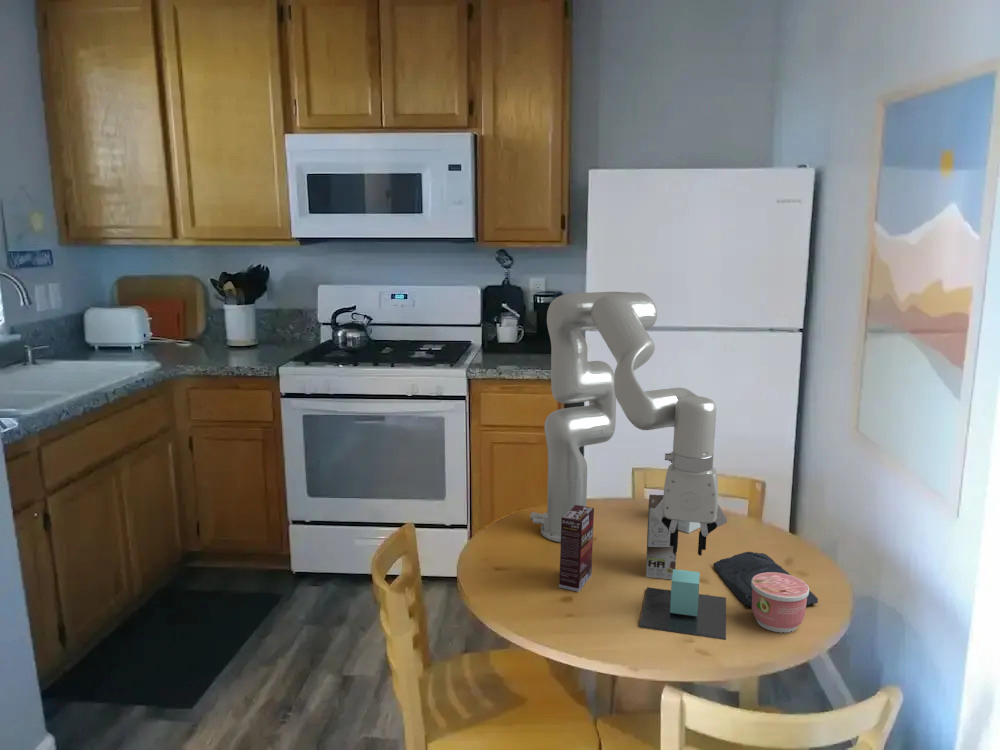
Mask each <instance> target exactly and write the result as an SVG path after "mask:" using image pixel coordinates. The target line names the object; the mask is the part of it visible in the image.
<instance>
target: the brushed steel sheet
mask: <svg viewBox="0 0 1000 750" xmlns="http://www.w3.org/2000/svg"><path fill="white" fill-rule="evenodd" d="M670 603H671V589H663V588H655V587H648V586H647V587H646V591H645V596H644V600H643V604H642V606H643V607H642V610H641V615H640V619H639V624H638V628H643V629H644V628H645V629H650V630H657V631H658V630H659V631H665V632H670V633H671V632H672V633H678V634H684V635H690V636H691V635H693V636H699V637H705V638H713V639H719V640H721V639H722V640H727V597H725V596H718V595H717V596H716V595H710V594H701V593H699V597H698V613H697V616H691V615H683V614H676V613H670Z"/></svg>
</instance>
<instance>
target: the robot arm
mask: <svg viewBox="0 0 1000 750" xmlns="http://www.w3.org/2000/svg"><path fill="white" fill-rule="evenodd" d="M546 312H547V313H546V325H547V330H548V331H547V332H548V335H549V339H550V347H551V352H550V353H551V359H550V361H551V365H550V366H551V367H550V368H551V371H550V372H551V373H550V376H551V377H550V380H551V381H550V384H551V395H552V396H553V398H554V400H555V401H556V402H558V403H561V404H576V403H586V402H588V405H582V406H574V407H566V408H559V409H557V410H554V411H552V412H551V413H550V414H548V415H547V417H546V418H545V421H544V435H545V440H546V447H547V448H546V449H547V504H546V505H547V511H546V512H543V513H539V512H533V511H532V512H531V513H530V521H532V523H533V524H539V525H540V534H541V535H542V536H543V537H544V538H546V540H549V541H553V542H558V543H561V519H562V517H563V516H565V515H566V514H567V513H568V512H569V511H570V510H571V509H572V508H573V507H574V505H580V506H586V507H587V500H588V499H587V495H588V491H587V490H588V463H587V461H586V458H585V457H584V456H583V454H582V453H581V451H580V448H581V447H586V446H592V445H596V444H602V443H606V442H608V441H610V440H611V439H612V438H613V436H614V434H615V431H616V430H615V429H616V418H617V417H616V416H617V415H616V414H617V403H618V405H619V406H620V408H621V410H622V411H623V413H624V416H626V419H627V420H628V421H629V422H630V423H631V424H632V425H633V427H635V428H636V429H639V430H641V431H651V430H652V431H653V430H657V429H664V428H665V429H666V428H673V440H672V442H673V443H672V445H673V446H672V451H671V452H669V453H668V452H667V453H665V454H664V461H668V462H670V463H671V464H669V465H668V467H667V471H666V475H665V479H664V487H663V494H662V495H663V499H662V501H661V502H660V503H659V504H658V505H657V507H656V508H655V509H654V510H653V515H654V516H655V517H656V518H657V519H659V520H661V521H662V523H663V524H664V525H665V526H666V527H667V528H668V529H669V532H670V546H673V552H675V553H676V554H677V552H678V544H679V530H678V528H677V522H678V521H687V522H696V523H700V526H701V527H700V528H699V529H700V530H699V531H698V545H697V555H698V556H700V557H701V556H702V554H703V551H706V548H707V547H706V546H707V537H708V536H709V534H710V533H712V532H714V530H716V529H717V528H718V527H721V526H723V525H725V524H726V523H728V518H727V516H726V514H725V513H724V511H723V509H722V508H721V506H720V505H719V483H718V481H719V480H718V474H717V470H716V468H715V467H714V453H715V438H716V437H715V436H716V422H717V421H716V420H717V419H716V418H717V405H716V403H715V401H714V400H712V399H711V398H709V397H705V396H700V395H697V394H695V393H694V392H693V391H691V390H690V389H688V388H685V387H672V388H662V389H654V390H653V389H652V390H646V391H644V389H643V388H642V387H641V385H640V383H639V381H638V380H637V378H636V376H635V373H634V372H635V371H636V370H637V369H639V368H640V367H642V366H643V365H644V364H646V362H648V361H649V360H650V359H651V358H652V356H653V354H654V352H655V349H656V348H655V347H656V346H655V342H654V341H653V339H652V338H651V336H650V334H649V333H648V330H650V329H652V328H653V327H654V325H656V324H655V323H656V322H657V320H658V319H657V318H658V310H657V306H656V303H655V302H654V300H653V299H652V298H651V297H650V296H649V295H648V294H646V293H643V292H641V291H640V292H630V291H629V292H628V291H626V292H625V291H599V292H598V291H597V292H594V291H593V292H575V293H567V294H562V295H559V296H557V297H555V298H554V299H553V300H552V301H551V302H550V304H549V305H548V308H547V311H546ZM587 330H590V331H591V330H592V331H593V330H598V332H599V334H600V336H601V338H602V339H603V341H604V342H605V344H606V346H607V347H608V349H609V351H610V353H611V354H612V356H613V358H614V359H615V360H616V366H615V370H613V368H612V366H610V365H609V364H608V363H607V362H605V361H602V360H590V361H588V351H589V350H588V343H587V341H586V339H585V337H584V335H583V334H582V332H581V331H587ZM662 511H663V512H662Z"/></svg>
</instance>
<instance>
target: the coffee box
mask: <svg viewBox="0 0 1000 750" xmlns="http://www.w3.org/2000/svg"><path fill="white" fill-rule="evenodd" d="M663 495H664V494H649V496H648V513H647V516H648V517H647V530H646V531H647V534H646V555H645V556H646V557H645V558H646V559H645V561H646V563H645V565H646V566H645V568H646V571H645V577H646V578H652V579H662V580H670V581H672V574H673V569H676V564H677V552H676V553H675V552H673V546H670V532H669V529H668V528H667V527H666V526H665V525H664V524H663V523H662V521H661V520H659V519H657V518H656V517H655V516H654V515H653V510H654V509H655V508H656V507H657V505H658V504H659V503H660V502H661V501H662V499H663ZM662 512H663V511H662ZM677 528H678V522H677Z"/></svg>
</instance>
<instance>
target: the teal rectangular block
mask: <svg viewBox="0 0 1000 750" xmlns="http://www.w3.org/2000/svg"><path fill="white" fill-rule="evenodd" d="M700 572H701V571H700ZM700 572H699V571H694V570H693V571H691V570H683V569H676V568H675V569H673V574H672V580H671V589H670V590H671V603H670V613H676V614H683V615H691V616H697V613H698V597H699V594H700V577H701V576H700V575H701V574H700Z"/></svg>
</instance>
